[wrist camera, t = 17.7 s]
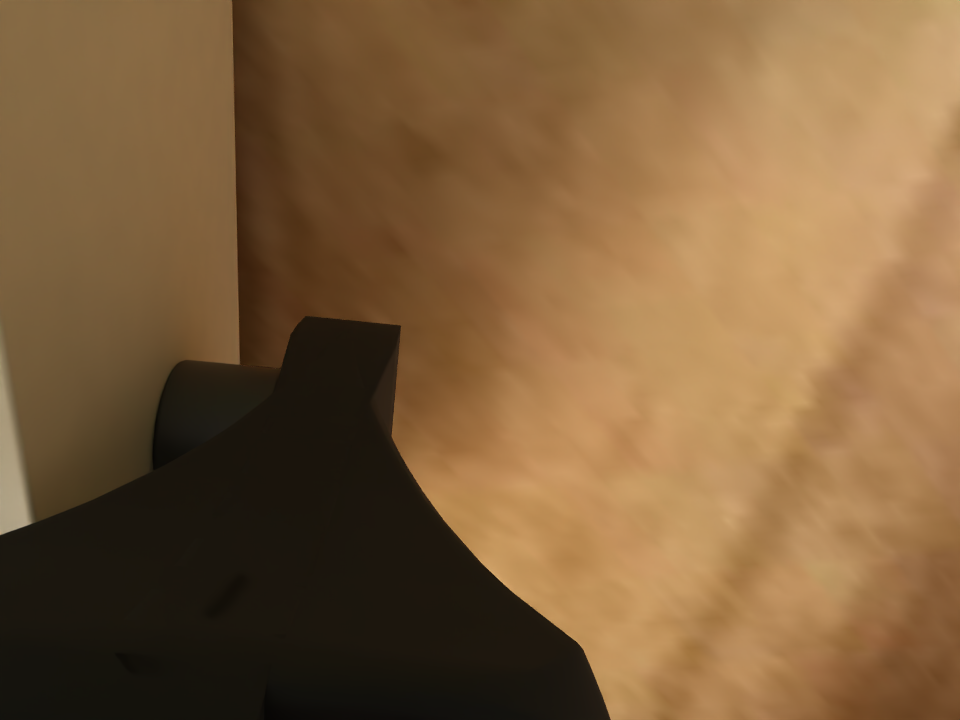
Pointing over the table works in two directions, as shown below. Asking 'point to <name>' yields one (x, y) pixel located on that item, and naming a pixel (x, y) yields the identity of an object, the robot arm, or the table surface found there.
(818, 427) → the table surface
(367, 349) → the robot arm
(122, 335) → the drawer
